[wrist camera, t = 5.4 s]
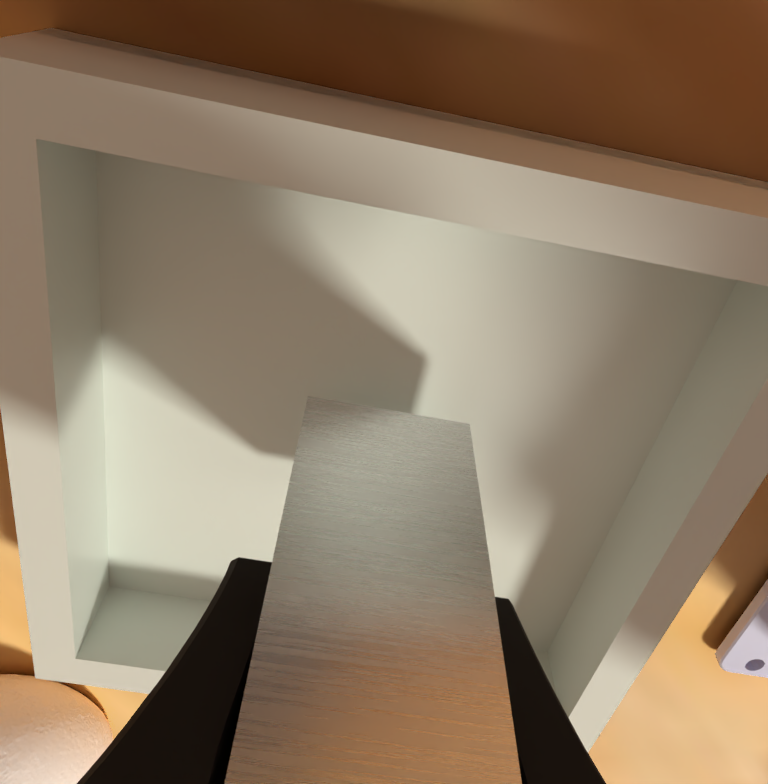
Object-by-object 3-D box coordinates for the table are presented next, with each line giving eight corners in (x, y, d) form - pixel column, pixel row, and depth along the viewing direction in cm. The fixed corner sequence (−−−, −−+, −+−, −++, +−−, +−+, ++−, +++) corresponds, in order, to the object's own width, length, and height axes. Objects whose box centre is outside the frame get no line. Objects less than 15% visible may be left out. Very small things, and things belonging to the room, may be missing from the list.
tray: (812, 191, 13) (912, 248, 10) (564, 654, 20) (587, 754, 18) (51, 28, 12) (-46, 46, 9) (84, 582, 19) (35, 678, 17)
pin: (469, 424, 13) (538, 899, 7) (432, 540, 15) (456, 1012, 8) (307, 395, 13) (207, 860, 6) (288, 516, 15) (193, 985, 8)
